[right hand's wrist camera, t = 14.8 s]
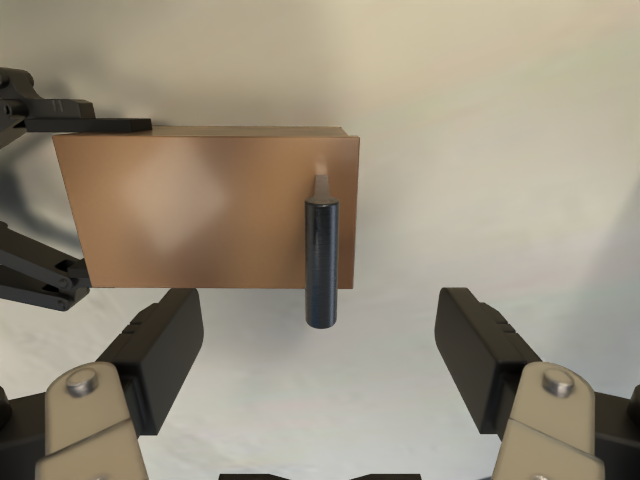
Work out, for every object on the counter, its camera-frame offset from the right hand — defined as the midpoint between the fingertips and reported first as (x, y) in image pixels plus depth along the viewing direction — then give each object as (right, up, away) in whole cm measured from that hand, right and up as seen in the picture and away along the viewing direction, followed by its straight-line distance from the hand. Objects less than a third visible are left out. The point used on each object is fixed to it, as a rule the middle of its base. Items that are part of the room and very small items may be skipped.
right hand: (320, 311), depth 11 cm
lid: (-6, +4, +10) cm, 12 cm away
